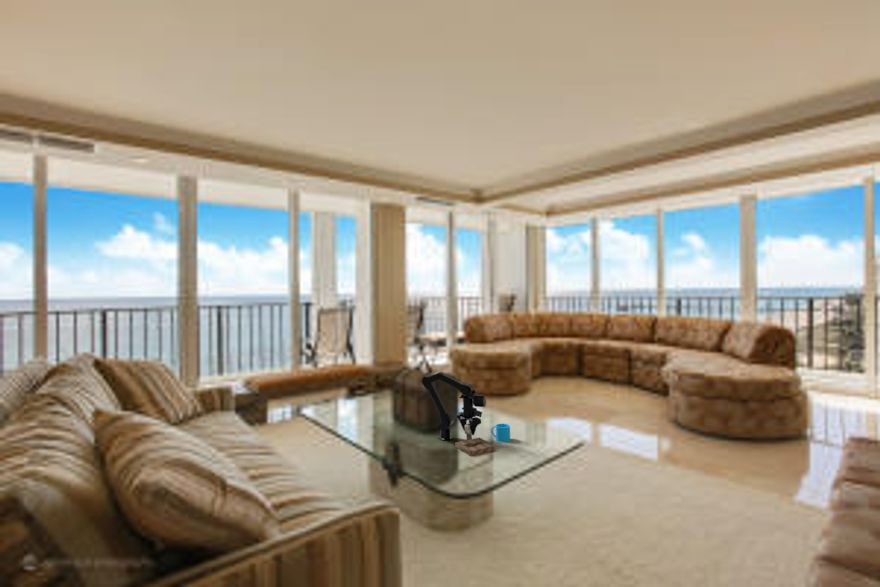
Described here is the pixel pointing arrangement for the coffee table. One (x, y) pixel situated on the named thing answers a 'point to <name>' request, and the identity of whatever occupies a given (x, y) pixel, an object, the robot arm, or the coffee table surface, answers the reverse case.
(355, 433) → the coffee table surface
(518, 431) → the coffee table surface
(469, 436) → the peg
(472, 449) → the keyhole board
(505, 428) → the mug
